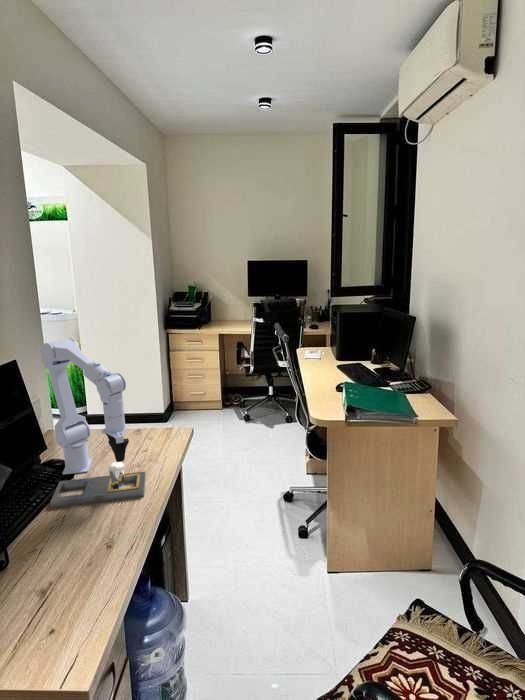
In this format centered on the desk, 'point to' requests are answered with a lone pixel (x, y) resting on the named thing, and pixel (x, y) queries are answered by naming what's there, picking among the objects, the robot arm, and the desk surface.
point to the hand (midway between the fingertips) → (118, 456)
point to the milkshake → (117, 474)
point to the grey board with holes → (98, 490)
